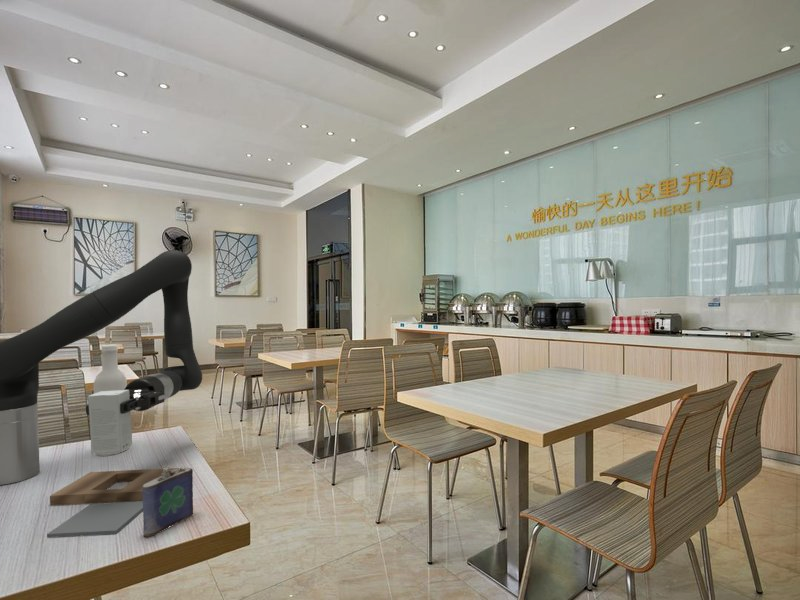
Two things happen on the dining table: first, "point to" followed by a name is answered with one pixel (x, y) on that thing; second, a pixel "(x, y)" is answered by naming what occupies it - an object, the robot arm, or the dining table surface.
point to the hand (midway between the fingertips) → (105, 409)
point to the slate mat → (99, 519)
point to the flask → (167, 500)
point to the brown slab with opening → (106, 487)
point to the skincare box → (109, 422)
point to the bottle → (109, 376)
